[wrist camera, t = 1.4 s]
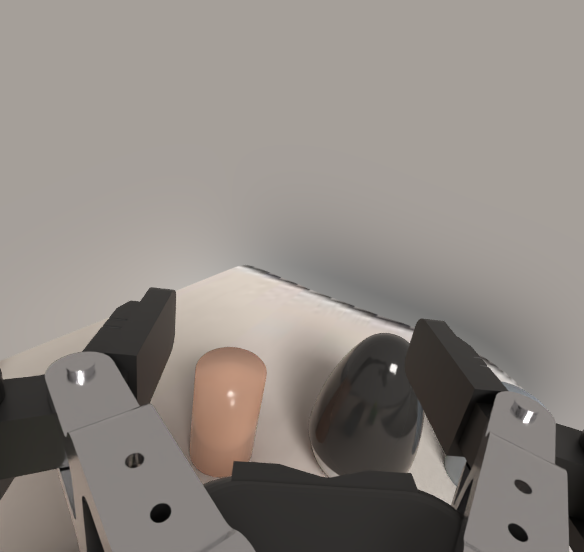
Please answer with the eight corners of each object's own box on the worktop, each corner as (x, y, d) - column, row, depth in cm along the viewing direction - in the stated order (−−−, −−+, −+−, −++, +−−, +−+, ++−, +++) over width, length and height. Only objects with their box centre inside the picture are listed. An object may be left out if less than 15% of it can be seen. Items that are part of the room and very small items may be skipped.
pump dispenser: (370, 540, 31) (432, 409, 25) (280, 456, 37) (310, 330, 30) (419, 466, 39) (478, 349, 32) (338, 405, 44) (373, 295, 37)
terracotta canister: (178, 440, 37) (182, 360, 32) (230, 414, 40) (241, 339, 36) (209, 489, 33) (219, 407, 28) (264, 456, 37) (280, 378, 32)
